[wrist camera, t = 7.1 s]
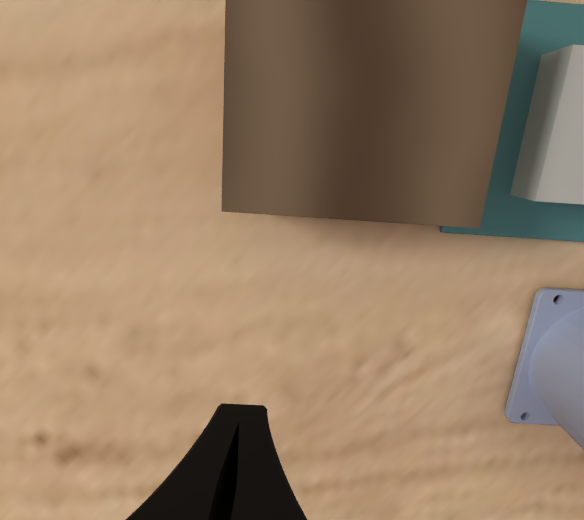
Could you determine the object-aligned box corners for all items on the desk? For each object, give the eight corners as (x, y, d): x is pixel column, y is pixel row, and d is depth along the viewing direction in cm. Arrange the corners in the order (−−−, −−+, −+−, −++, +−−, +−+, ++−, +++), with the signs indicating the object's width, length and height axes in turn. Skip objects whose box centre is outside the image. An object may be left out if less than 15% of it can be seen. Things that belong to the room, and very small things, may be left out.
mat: (651, 13, 17) (657, 11, 17) (585, 240, 20) (590, 242, 20) (481, -2, 17) (485, -4, 17) (439, 231, 20) (441, 232, 19)
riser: (474, 25, 17) (529, -8, 13) (441, 210, 19) (479, 228, 16) (239, 5, 17) (226, -35, 13) (234, 196, 19) (221, 211, 15)
